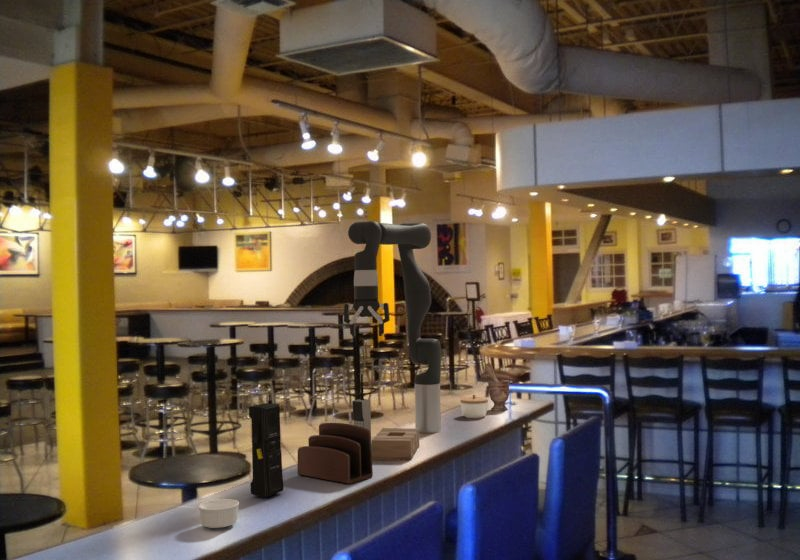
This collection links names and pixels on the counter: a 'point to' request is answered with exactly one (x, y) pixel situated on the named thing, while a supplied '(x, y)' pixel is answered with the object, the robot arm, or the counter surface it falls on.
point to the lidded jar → (474, 406)
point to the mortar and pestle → (497, 390)
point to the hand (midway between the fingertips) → (367, 336)
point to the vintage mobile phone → (362, 411)
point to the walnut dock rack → (395, 444)
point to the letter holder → (337, 454)
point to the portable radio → (266, 449)
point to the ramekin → (219, 513)
